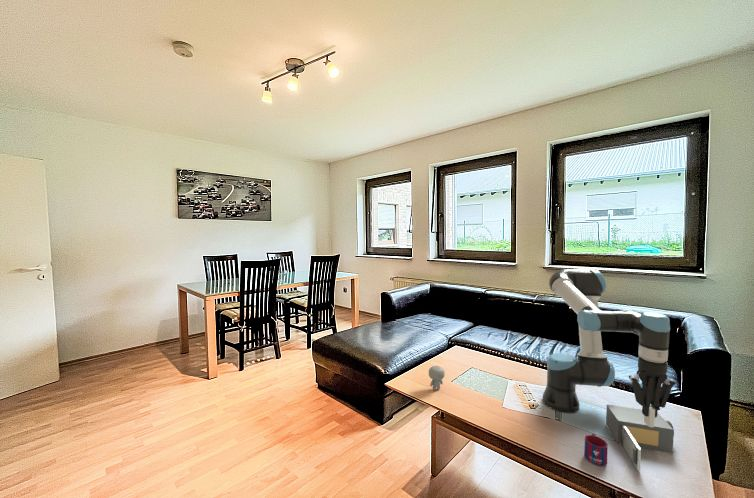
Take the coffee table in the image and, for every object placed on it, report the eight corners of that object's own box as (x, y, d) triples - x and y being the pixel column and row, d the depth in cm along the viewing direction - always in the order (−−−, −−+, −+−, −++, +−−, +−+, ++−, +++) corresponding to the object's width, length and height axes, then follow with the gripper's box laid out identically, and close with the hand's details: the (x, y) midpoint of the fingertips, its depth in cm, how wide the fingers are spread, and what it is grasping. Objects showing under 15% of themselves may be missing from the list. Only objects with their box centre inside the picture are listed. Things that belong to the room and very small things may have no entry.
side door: (620, 443, 119) (620, 424, 119) (624, 444, 118) (625, 425, 118) (635, 469, 106) (636, 448, 105) (640, 470, 105) (641, 449, 105)
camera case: (617, 443, 119) (618, 418, 119) (606, 424, 131) (606, 402, 130) (681, 455, 113) (682, 428, 113) (663, 434, 125) (664, 410, 124)
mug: (584, 461, 111) (584, 442, 110) (584, 445, 119) (585, 428, 118) (607, 469, 107) (608, 450, 106) (606, 452, 115) (606, 434, 115)
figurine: (439, 385, 166) (439, 363, 166) (446, 391, 159) (447, 369, 158) (426, 387, 164) (426, 365, 163) (433, 394, 156) (433, 371, 156)
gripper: (637, 361, 103) (634, 429, 105) (683, 365, 101) (679, 434, 102) (624, 353, 110) (621, 416, 112) (666, 355, 108) (663, 420, 110)
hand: (649, 424), depth 107 cm, fingers closed
